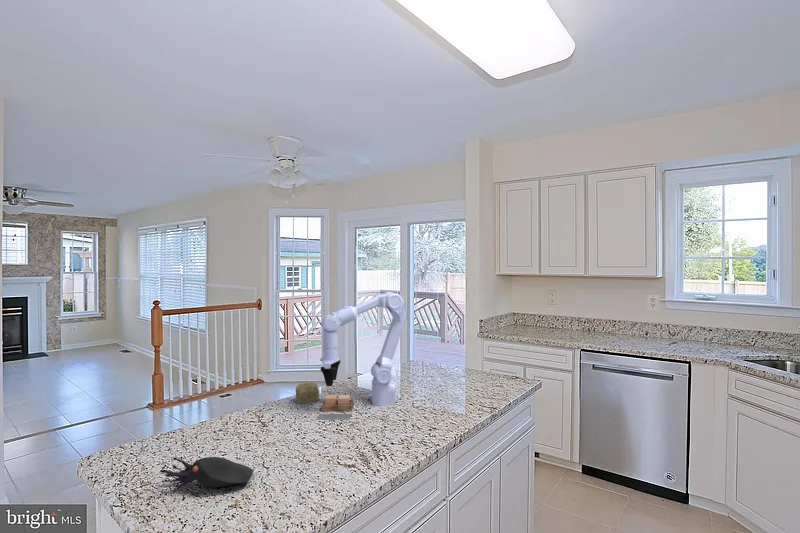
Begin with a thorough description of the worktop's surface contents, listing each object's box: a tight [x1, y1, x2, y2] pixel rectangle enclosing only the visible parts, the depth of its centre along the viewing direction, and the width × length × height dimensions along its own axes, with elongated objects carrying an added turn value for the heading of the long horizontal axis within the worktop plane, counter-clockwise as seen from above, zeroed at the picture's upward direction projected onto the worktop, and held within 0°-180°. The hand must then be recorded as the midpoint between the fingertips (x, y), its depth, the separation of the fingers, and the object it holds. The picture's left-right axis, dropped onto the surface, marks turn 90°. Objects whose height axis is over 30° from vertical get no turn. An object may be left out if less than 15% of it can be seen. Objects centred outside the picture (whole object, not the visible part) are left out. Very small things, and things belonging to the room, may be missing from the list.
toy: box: [159, 456, 254, 488], centre depth 108 cm, size 10×21×10 cm, turn 97°
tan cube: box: [324, 394, 338, 405], centre depth 160 cm, size 4×4×4 cm
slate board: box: [315, 413, 353, 421], centre depth 151 cm, size 12×6×1 cm, turn 89°
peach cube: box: [337, 394, 351, 405], centre depth 160 cm, size 4×4×4 cm
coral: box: [295, 380, 320, 404], centre depth 170 cm, size 9×9×8 cm
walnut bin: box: [321, 398, 355, 413], centre depth 160 cm, size 11×7×3 cm, turn 89°
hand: (331, 382), depth 160 cm, fingers open, 7 cm apart
